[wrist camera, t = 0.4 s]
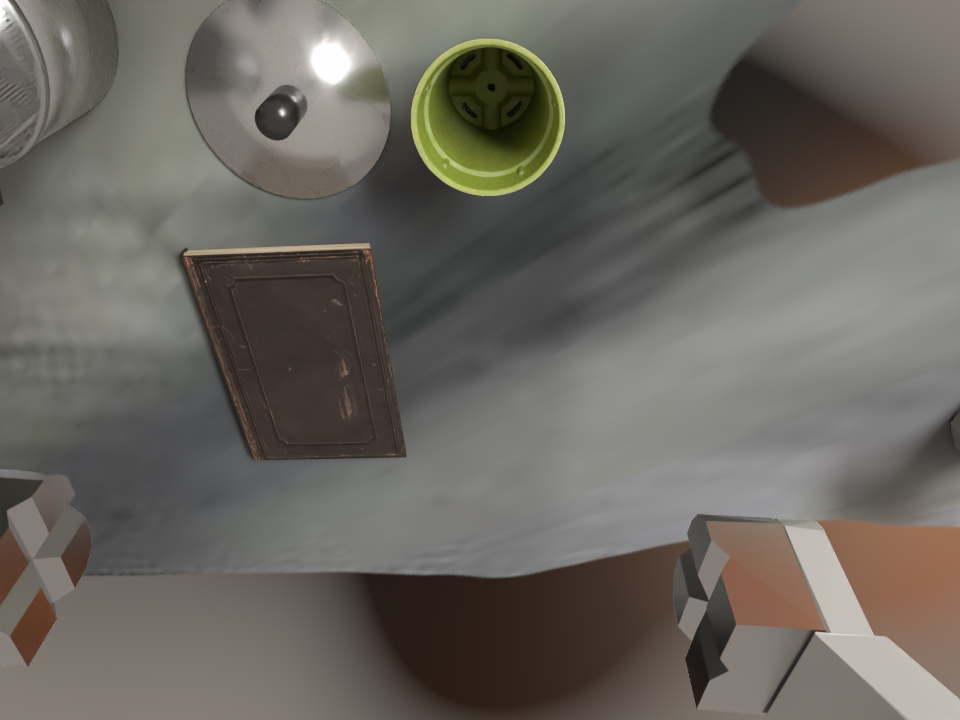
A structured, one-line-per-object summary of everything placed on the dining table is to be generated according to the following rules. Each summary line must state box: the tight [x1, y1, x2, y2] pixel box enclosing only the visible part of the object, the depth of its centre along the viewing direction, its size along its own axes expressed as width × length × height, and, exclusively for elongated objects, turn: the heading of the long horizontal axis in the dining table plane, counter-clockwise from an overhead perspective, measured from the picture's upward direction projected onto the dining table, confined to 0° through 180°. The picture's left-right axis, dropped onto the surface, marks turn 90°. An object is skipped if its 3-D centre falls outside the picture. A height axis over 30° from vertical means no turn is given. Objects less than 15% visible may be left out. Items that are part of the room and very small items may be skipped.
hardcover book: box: [180, 243, 407, 460], centre depth 64 cm, size 16×23×2 cm
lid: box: [186, 0, 391, 199], centre depth 49 cm, size 15×15×5 cm
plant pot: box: [411, 38, 565, 196], centre depth 46 cm, size 9×9×9 cm
